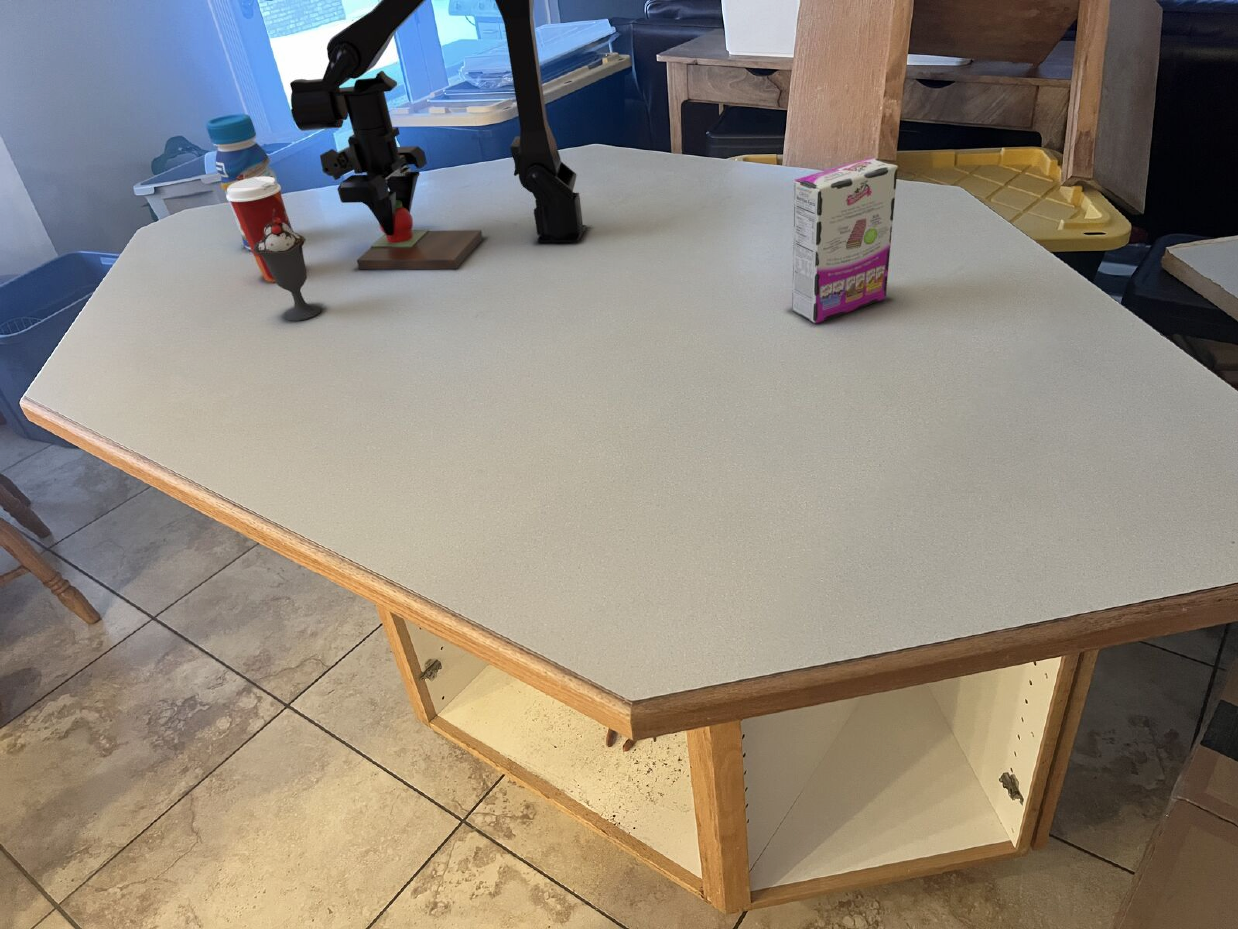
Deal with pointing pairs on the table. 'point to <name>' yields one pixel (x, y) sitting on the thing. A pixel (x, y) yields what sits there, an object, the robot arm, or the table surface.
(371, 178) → the robot arm
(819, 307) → the candy bar box
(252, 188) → the paper cup
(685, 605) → the table surface
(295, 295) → the sundae
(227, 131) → the beverage bottle
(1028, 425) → the table surface
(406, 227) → the red rounded piece
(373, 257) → the board
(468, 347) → the table surface
